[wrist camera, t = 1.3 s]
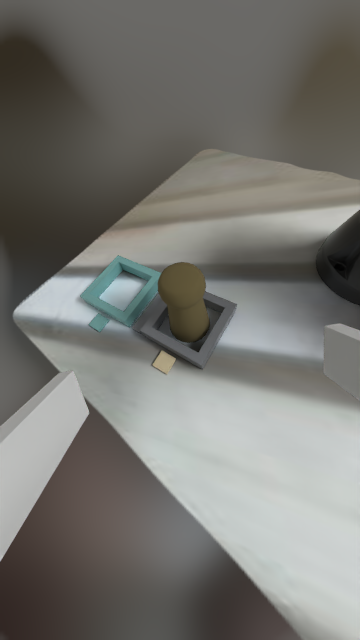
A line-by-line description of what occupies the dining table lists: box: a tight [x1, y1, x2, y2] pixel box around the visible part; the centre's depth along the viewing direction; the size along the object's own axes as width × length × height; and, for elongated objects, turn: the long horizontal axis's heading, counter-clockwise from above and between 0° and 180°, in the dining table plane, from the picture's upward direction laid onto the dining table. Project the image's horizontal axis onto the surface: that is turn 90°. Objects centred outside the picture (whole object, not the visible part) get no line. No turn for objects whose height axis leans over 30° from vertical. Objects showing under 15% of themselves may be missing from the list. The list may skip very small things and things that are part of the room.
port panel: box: [80, 255, 237, 374], centre depth 30 cm, size 13×23×2 cm, turn 58°
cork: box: [158, 262, 210, 343], centre depth 24 cm, size 6×6×11 cm
